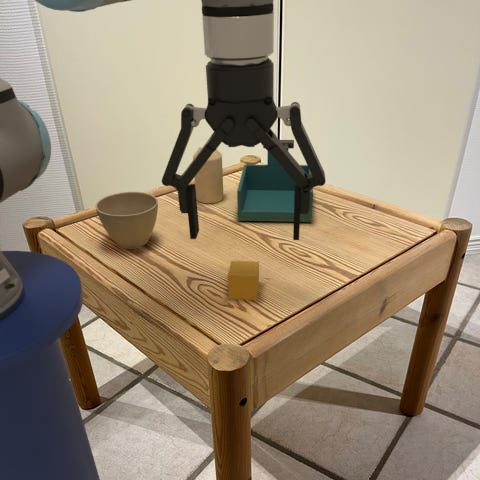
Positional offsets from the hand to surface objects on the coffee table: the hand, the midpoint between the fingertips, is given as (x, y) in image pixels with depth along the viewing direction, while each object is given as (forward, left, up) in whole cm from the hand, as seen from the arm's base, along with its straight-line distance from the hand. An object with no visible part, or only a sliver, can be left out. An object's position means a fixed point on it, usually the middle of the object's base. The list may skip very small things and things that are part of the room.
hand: (245, 235), depth 68 cm
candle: (-29, +21, -9) cm, 37 cm away
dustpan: (-17, +27, -9) cm, 34 cm away
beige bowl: (-25, -1, -9) cm, 27 cm away
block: (0, 0, -9) cm, 9 cm away
